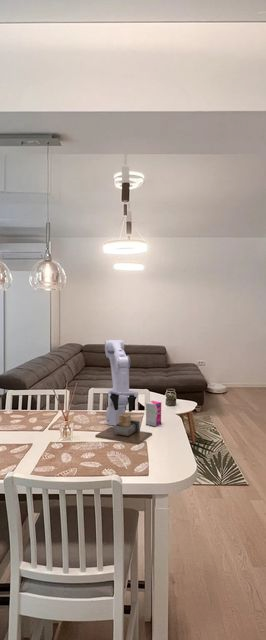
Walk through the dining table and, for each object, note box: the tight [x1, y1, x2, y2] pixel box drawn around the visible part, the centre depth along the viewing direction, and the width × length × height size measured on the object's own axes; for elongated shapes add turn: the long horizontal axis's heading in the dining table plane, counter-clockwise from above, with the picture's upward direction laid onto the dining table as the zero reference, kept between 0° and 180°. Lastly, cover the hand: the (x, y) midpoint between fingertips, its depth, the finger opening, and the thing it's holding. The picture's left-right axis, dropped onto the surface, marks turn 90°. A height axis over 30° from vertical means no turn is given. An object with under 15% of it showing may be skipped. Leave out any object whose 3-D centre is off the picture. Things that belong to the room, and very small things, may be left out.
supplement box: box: [145, 400, 162, 428], centre depth 193 cm, size 6×6×12 cm
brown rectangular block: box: [119, 413, 132, 427], centre depth 176 cm, size 4×4×7 cm
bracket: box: [94, 419, 153, 445], centre depth 176 cm, size 22×14×6 cm, turn 62°
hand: (123, 410), depth 181 cm, fingers open, 7 cm apart
